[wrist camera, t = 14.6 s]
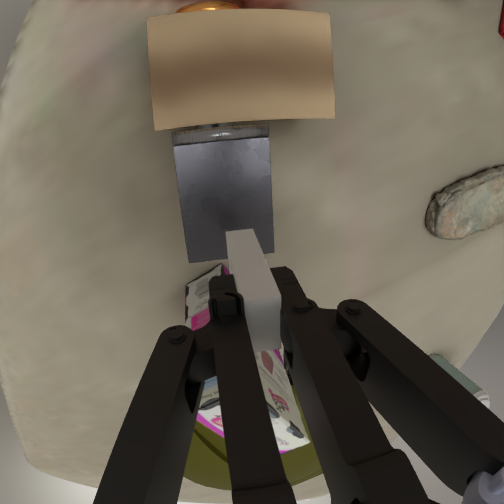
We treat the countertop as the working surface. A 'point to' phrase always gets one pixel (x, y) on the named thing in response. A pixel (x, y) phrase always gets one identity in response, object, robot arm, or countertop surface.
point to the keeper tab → (224, 187)
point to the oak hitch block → (240, 66)
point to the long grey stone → (468, 206)
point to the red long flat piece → (502, 25)
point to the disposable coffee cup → (463, 380)
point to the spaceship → (216, 464)
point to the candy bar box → (270, 370)
